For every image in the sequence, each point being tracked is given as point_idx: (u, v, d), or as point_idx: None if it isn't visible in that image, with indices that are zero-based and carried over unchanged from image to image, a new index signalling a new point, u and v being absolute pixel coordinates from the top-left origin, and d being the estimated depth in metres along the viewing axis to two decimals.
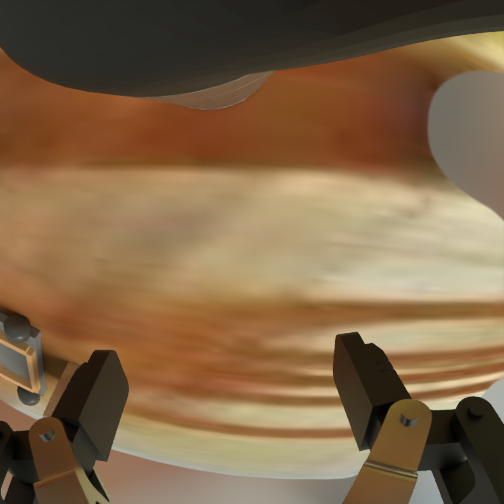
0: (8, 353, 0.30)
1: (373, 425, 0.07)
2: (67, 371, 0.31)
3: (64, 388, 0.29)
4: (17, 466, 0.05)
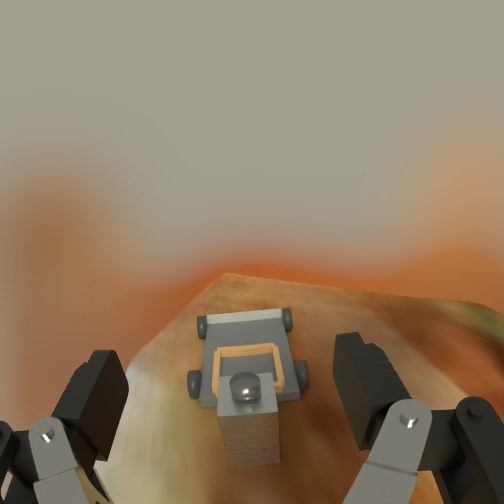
0: (251, 369, 0.39)
1: (372, 425, 0.07)
2: None
3: None
4: (17, 466, 0.05)
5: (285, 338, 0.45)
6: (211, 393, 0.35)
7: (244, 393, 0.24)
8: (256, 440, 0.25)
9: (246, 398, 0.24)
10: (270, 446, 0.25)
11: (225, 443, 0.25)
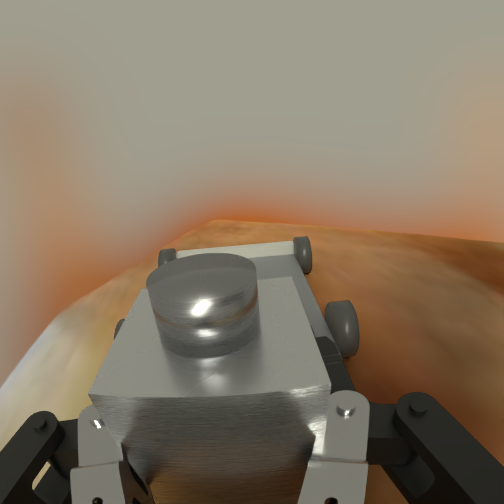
0: None
1: None
2: None
3: None
4: (57, 460, 0.06)
5: (302, 278, 0.27)
6: None
7: (190, 303, 0.06)
8: (243, 485, 0.07)
9: (202, 331, 0.06)
10: (289, 498, 0.07)
11: None
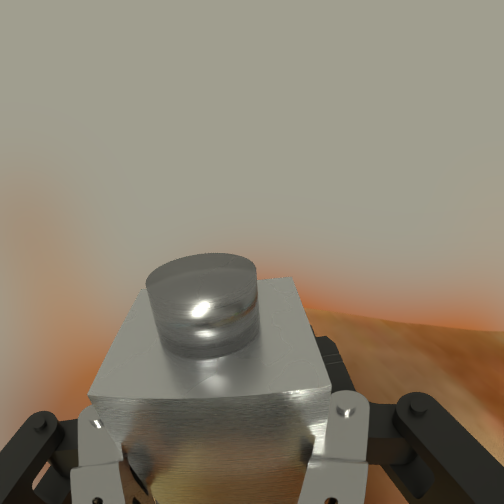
0: None
1: None
2: None
3: None
4: (57, 460, 0.06)
5: None
6: None
7: (189, 303, 0.06)
8: (243, 486, 0.07)
9: (201, 332, 0.06)
10: (288, 499, 0.07)
11: None
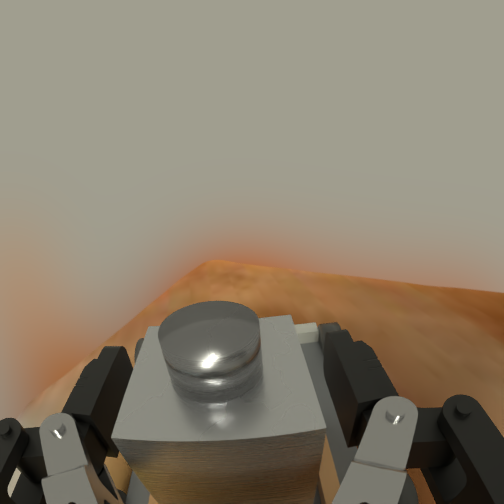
0: None
1: (360, 421, 0.07)
2: None
3: None
4: (26, 464, 0.05)
5: None
6: None
7: (201, 360, 0.07)
8: None
9: (211, 382, 0.07)
10: None
11: None
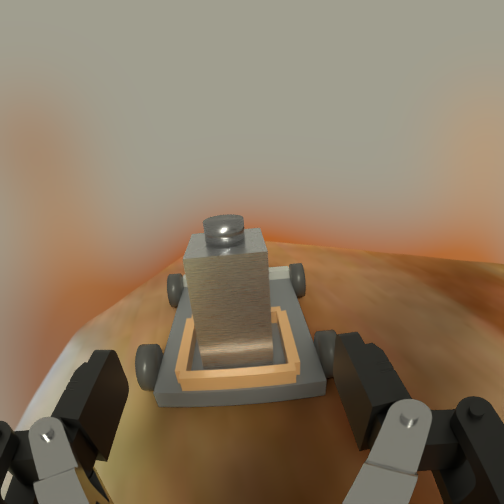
0: None
1: (373, 424, 0.07)
2: None
3: None
4: (17, 466, 0.05)
5: (296, 303, 0.30)
6: (175, 383, 0.21)
7: (221, 226, 0.19)
8: (238, 313, 0.20)
9: (224, 237, 0.19)
10: (259, 328, 0.20)
11: (195, 319, 0.20)
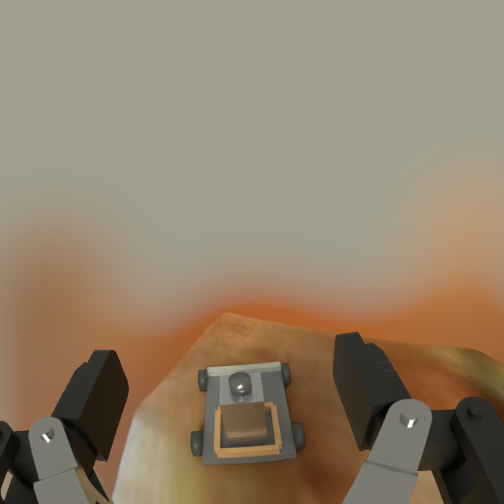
0: None
1: (373, 425, 0.07)
2: None
3: None
4: (17, 466, 0.05)
5: (283, 395, 0.44)
6: (213, 453, 0.35)
7: (239, 387, 0.33)
8: (248, 424, 0.34)
9: (240, 391, 0.33)
10: (260, 429, 0.34)
11: (225, 426, 0.34)
